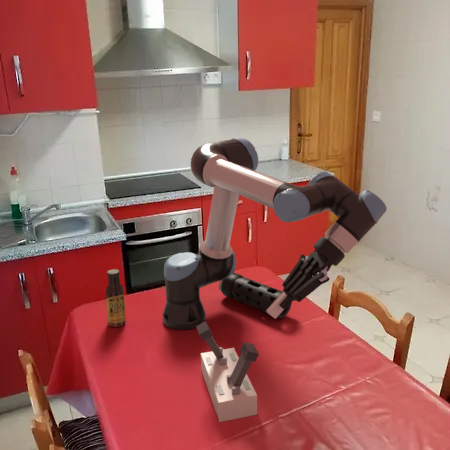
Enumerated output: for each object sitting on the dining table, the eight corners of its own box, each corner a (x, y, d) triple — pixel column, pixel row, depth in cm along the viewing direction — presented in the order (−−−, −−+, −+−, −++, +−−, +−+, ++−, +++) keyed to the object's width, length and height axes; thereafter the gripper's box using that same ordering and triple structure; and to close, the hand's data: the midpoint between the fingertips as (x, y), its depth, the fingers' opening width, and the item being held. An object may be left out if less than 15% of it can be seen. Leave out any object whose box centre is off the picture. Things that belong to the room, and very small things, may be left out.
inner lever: (222, 348, 137) (205, 321, 133) (226, 356, 133) (208, 329, 129) (213, 353, 137) (196, 326, 132) (216, 362, 133) (199, 334, 128)
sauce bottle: (110, 329, 163) (104, 277, 157) (106, 321, 168) (99, 270, 162) (129, 324, 166) (123, 272, 159) (124, 316, 171) (118, 266, 165)
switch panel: (234, 364, 143) (233, 341, 140) (257, 414, 122) (257, 388, 120) (201, 370, 140) (200, 347, 138) (219, 422, 120) (218, 396, 118)
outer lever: (237, 378, 126) (253, 344, 123) (242, 389, 122) (258, 353, 119) (227, 376, 125) (243, 341, 122) (231, 387, 121) (248, 351, 118)
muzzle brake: (275, 325, 163) (275, 298, 160) (217, 300, 182) (216, 275, 178) (292, 314, 170) (292, 288, 166) (234, 291, 188) (233, 267, 185)
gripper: (357, 263, 113) (290, 335, 115) (332, 244, 125) (271, 310, 127) (337, 245, 110) (269, 319, 112) (314, 227, 122) (252, 295, 124)
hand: (270, 314), depth 119 cm, fingers closed
